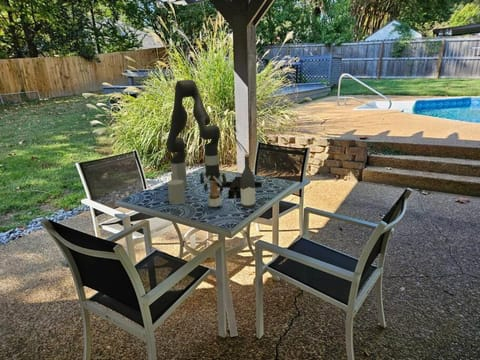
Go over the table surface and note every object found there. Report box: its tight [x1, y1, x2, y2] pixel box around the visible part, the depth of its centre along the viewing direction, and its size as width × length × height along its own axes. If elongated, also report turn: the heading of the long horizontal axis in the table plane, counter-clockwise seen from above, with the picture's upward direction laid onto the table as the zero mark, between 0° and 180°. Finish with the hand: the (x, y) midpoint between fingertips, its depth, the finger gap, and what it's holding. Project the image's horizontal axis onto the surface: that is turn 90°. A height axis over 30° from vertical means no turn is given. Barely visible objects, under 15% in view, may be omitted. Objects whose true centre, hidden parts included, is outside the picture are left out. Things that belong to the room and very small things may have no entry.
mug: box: [206, 187, 223, 208], centre depth 180 cm, size 8×13×8 cm, turn 167°
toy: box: [217, 176, 263, 199], centre depth 204 cm, size 30×5×30 cm
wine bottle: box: [240, 153, 256, 209], centre depth 175 cm, size 8×8×30 cm
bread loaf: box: [209, 181, 218, 199], centre depth 175 cm, size 4×4×12 cm
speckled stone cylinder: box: [166, 179, 187, 206], centre depth 187 cm, size 10×10×12 cm
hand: (213, 191), depth 175 cm, fingers open, 8 cm apart
